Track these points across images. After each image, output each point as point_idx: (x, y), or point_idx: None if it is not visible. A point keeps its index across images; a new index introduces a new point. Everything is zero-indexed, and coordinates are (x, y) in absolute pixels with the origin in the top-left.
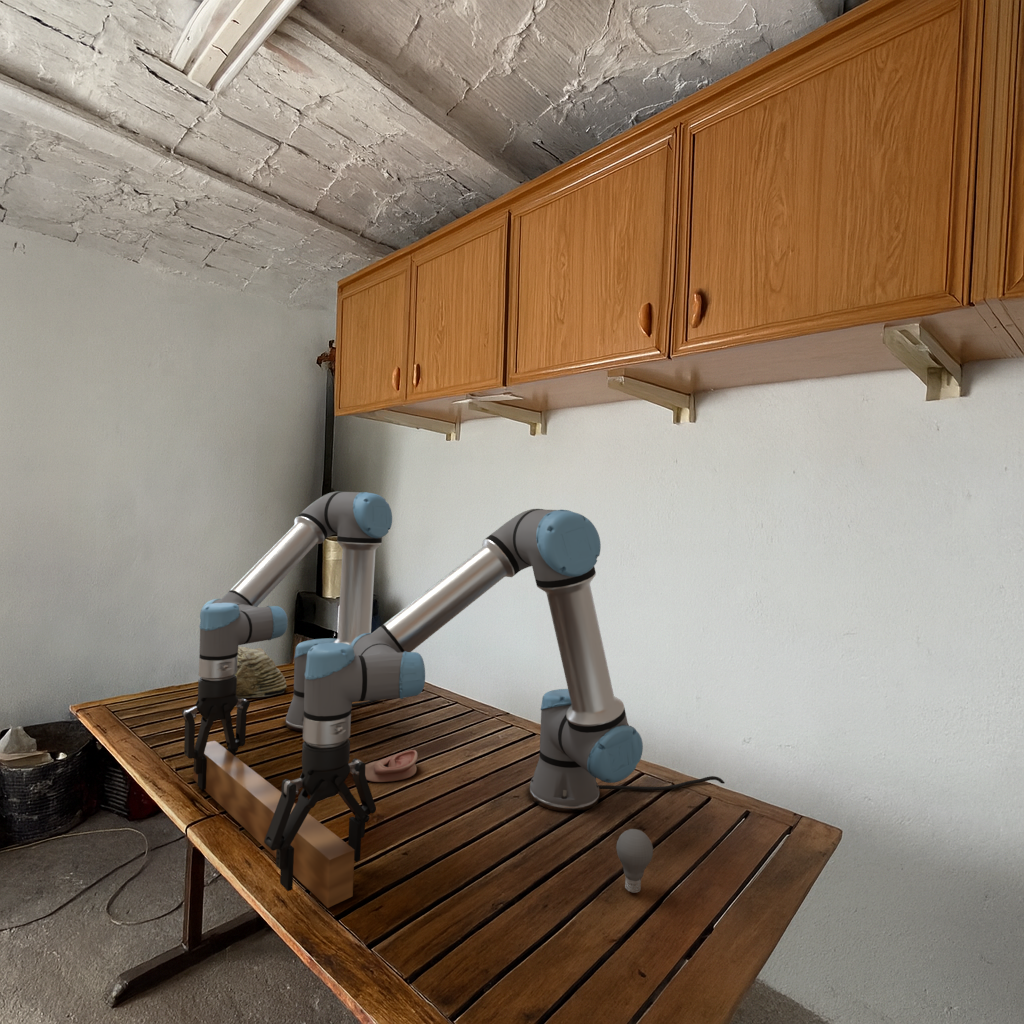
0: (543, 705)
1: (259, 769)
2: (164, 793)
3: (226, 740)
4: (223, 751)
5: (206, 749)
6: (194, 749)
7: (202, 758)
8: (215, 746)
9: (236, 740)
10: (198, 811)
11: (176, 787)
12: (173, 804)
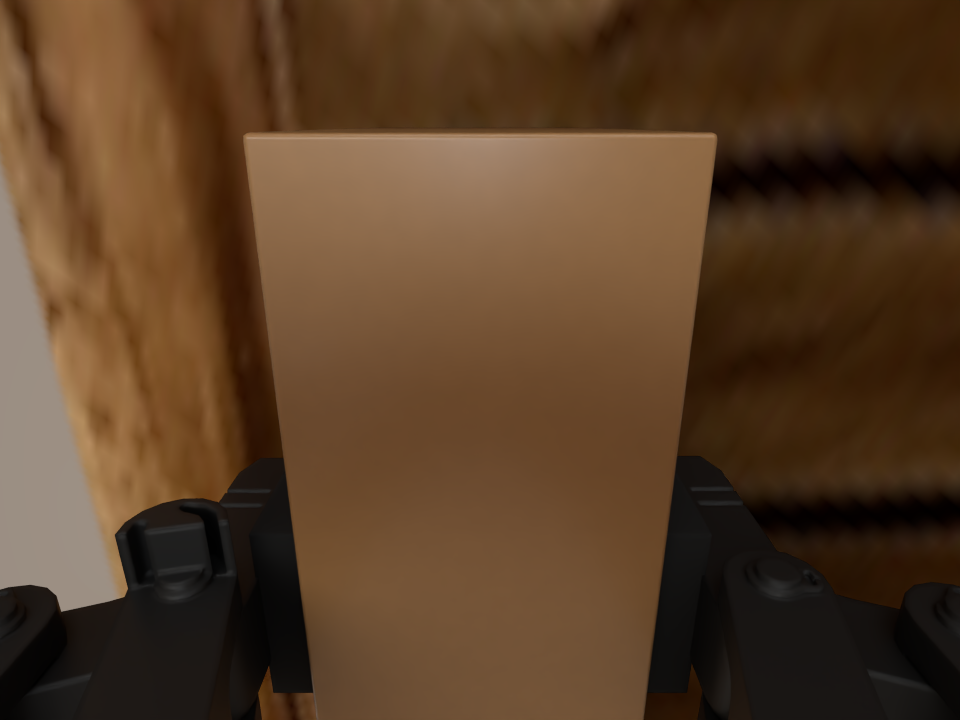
0: None
1: (952, 316)
2: (84, 272)
3: (736, 714)
4: (575, 715)
5: (385, 511)
6: (106, 655)
7: (273, 662)
8: (567, 474)
9: (902, 717)
10: (265, 681)
11: (196, 213)
12: (131, 505)
